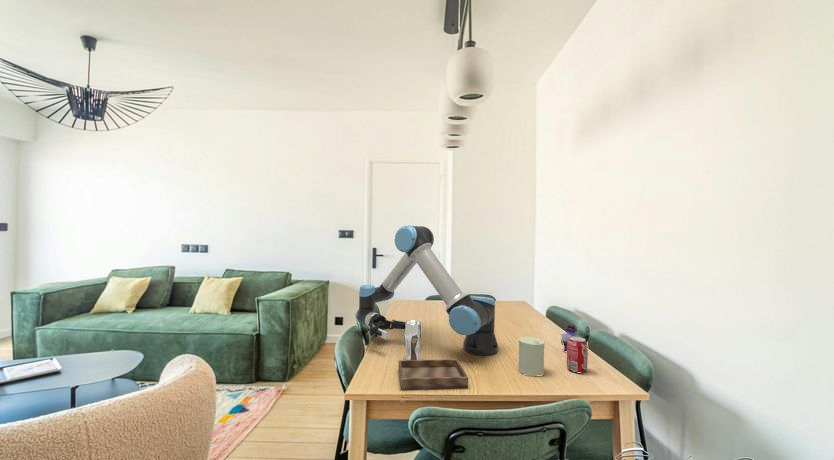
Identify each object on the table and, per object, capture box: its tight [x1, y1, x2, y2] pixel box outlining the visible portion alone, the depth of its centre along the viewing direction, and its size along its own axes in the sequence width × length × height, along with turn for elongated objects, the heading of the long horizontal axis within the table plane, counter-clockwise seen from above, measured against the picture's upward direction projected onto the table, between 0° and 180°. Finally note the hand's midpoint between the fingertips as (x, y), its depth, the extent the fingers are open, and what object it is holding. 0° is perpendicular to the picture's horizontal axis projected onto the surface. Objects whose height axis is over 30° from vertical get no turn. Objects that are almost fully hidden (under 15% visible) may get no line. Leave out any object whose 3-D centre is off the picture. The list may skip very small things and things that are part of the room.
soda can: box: [566, 336, 589, 373], centre depth 125 cm, size 7×7×12 cm
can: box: [517, 336, 545, 377], centre depth 124 cm, size 9×9×12 cm
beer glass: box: [403, 319, 423, 360], centre depth 132 cm, size 7×7×15 cm
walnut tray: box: [397, 358, 469, 391], centre depth 116 cm, size 22×16×4 cm
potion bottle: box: [560, 323, 582, 352], centre depth 145 cm, size 9×9×12 cm
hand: (400, 333), depth 139 cm, fingers open, 13 cm apart
